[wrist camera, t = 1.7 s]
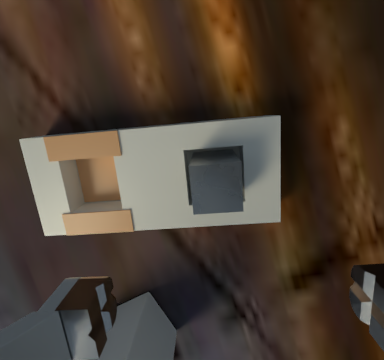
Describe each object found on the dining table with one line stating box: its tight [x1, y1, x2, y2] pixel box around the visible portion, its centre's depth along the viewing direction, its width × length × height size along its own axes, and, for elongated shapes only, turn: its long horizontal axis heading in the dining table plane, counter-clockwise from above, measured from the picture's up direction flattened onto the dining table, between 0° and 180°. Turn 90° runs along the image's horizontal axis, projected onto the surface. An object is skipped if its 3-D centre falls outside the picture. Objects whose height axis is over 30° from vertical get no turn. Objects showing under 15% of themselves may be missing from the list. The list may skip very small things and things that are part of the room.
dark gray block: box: [189, 149, 244, 215], centre depth 23 cm, size 4×4×7 cm
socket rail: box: [19, 115, 281, 236], centre depth 26 cm, size 24×10×4 cm, turn 95°
